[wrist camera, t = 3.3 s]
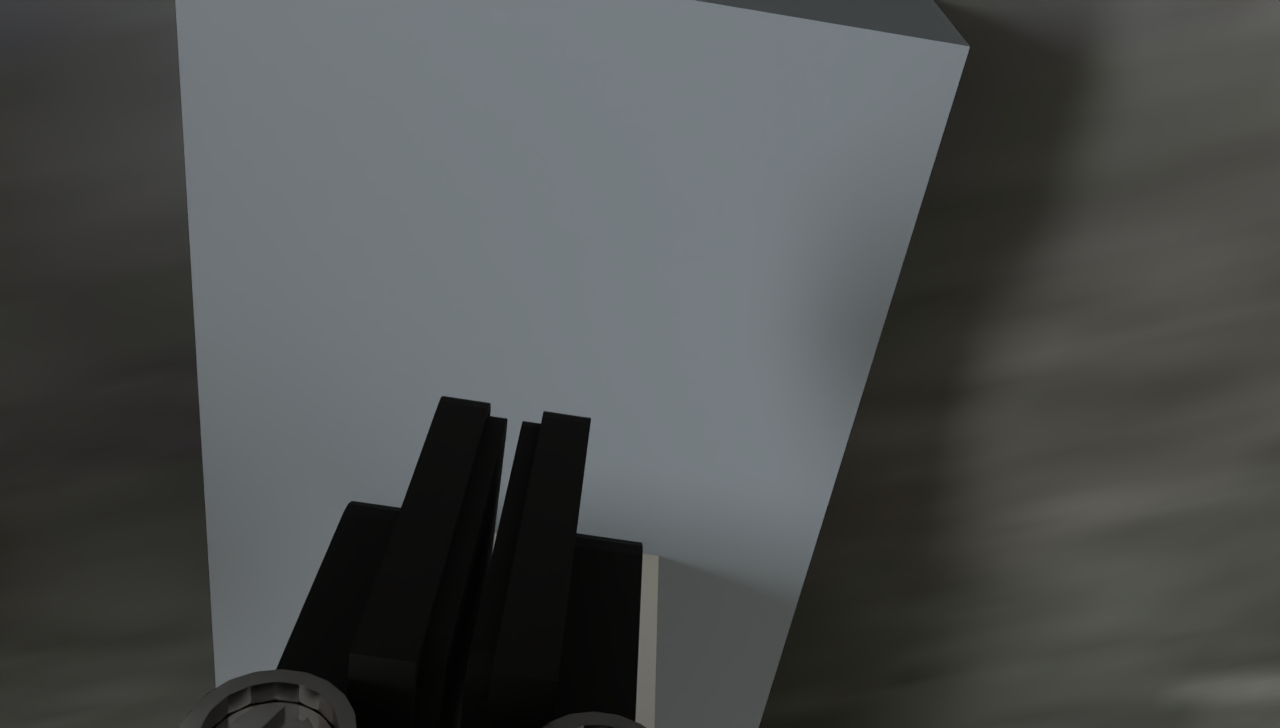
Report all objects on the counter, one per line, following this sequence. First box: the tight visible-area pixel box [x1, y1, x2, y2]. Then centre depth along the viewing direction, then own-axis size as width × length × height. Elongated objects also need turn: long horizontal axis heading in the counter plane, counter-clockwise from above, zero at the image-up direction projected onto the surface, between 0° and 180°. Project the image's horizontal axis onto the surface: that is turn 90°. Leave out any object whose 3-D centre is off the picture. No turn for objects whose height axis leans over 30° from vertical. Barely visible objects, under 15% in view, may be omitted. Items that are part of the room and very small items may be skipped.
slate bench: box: [175, 0, 970, 728], centre depth 20 cm, size 20×10×2 cm, turn 171°
